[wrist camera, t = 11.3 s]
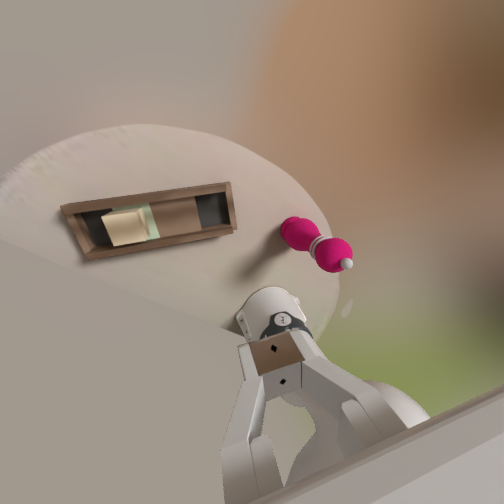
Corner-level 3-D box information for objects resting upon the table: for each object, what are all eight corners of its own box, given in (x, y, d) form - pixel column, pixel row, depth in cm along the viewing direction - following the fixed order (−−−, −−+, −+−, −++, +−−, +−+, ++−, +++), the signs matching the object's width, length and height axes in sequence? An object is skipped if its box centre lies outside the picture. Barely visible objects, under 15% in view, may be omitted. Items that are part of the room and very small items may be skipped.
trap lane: (235, 226, 43) (239, 232, 39) (92, 252, 38) (80, 262, 34) (228, 181, 39) (232, 183, 35) (68, 203, 34) (51, 208, 30)
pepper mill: (309, 216, 47) (377, 245, 29) (301, 243, 50) (360, 286, 32) (282, 212, 45) (338, 242, 27) (275, 241, 47) (323, 286, 30)
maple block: (150, 233, 37) (145, 240, 33) (122, 238, 36) (113, 246, 32) (141, 207, 35) (135, 211, 31) (111, 211, 34) (101, 216, 30)
